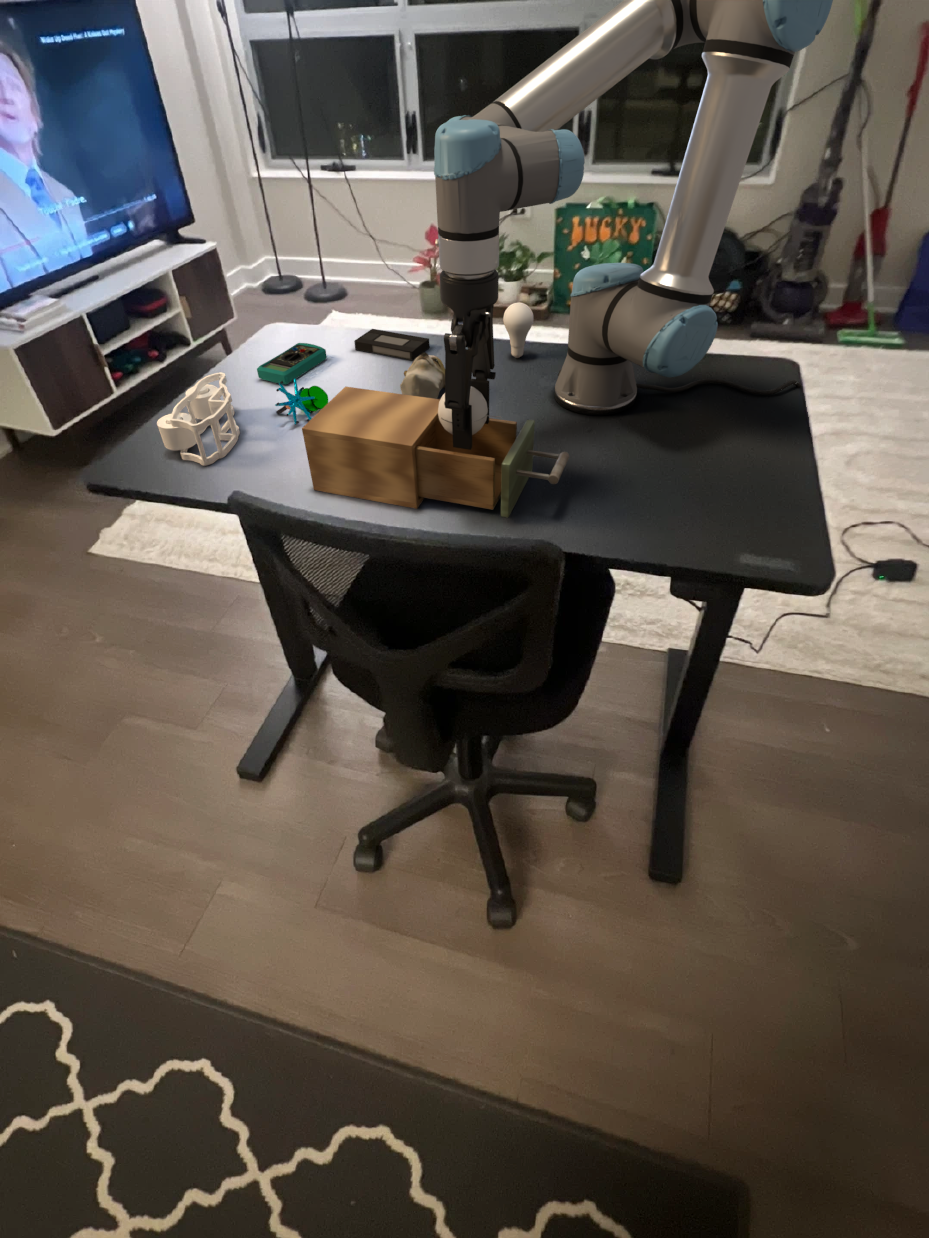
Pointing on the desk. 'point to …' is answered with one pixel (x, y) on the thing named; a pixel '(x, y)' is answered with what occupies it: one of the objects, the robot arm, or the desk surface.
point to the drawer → (481, 465)
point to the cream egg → (477, 411)
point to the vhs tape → (392, 344)
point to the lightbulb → (518, 326)
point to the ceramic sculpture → (424, 377)
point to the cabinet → (369, 445)
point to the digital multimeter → (292, 363)
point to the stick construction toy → (303, 400)
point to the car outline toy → (205, 405)
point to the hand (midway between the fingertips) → (471, 434)
